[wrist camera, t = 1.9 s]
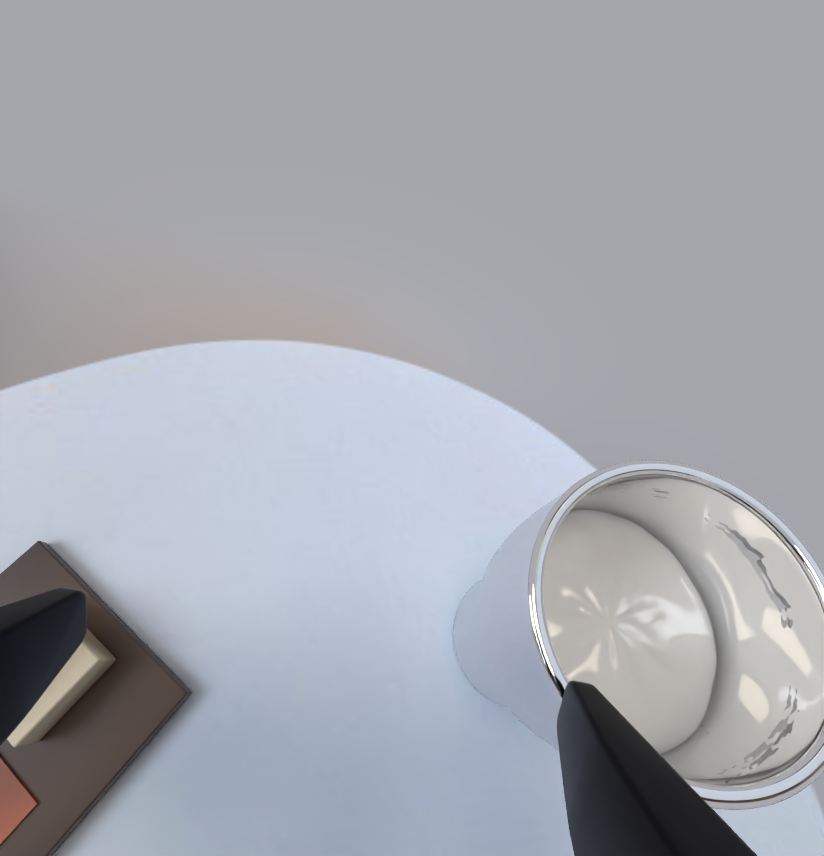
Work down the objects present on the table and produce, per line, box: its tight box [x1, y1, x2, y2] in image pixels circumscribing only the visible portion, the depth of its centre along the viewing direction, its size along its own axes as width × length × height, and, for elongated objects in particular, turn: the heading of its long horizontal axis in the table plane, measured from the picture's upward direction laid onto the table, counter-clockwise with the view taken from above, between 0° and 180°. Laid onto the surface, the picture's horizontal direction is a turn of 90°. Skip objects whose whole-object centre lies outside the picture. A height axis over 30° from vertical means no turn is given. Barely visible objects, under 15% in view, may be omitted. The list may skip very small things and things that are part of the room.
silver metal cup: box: [453, 460, 824, 810], centre depth 16 cm, size 7×7×15 cm
